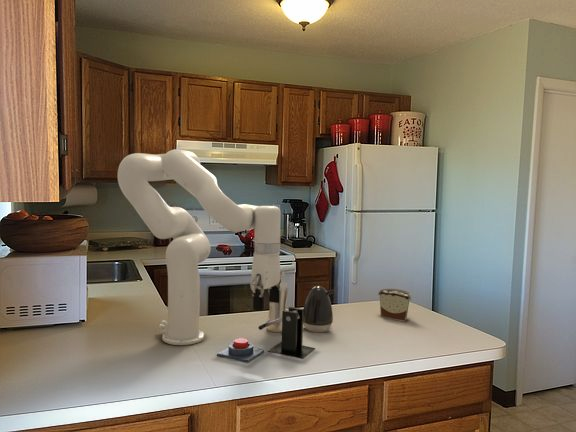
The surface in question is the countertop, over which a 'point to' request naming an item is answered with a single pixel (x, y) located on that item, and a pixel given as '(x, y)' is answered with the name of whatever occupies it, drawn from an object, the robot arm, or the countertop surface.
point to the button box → (241, 353)
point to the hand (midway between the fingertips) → (266, 306)
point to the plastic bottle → (278, 306)
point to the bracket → (292, 335)
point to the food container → (394, 303)
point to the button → (241, 343)
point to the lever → (273, 322)
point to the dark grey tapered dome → (318, 310)
